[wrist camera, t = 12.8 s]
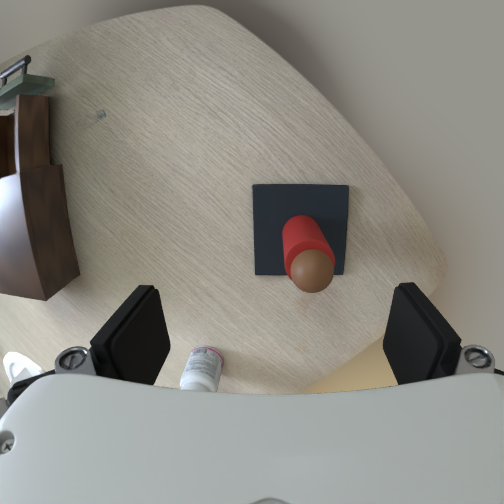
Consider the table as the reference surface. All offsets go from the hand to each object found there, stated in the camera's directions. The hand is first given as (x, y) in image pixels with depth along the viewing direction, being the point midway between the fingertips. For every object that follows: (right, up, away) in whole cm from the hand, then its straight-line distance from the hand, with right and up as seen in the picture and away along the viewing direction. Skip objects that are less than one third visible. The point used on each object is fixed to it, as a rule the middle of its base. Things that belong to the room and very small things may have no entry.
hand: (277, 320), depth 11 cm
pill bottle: (-7, -12, +27) cm, 31 cm away
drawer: (-32, +20, +16) cm, 42 cm away
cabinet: (-32, +7, +22) cm, 39 cm away
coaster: (+4, +5, +20) cm, 21 cm away
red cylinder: (+4, +5, +19) cm, 20 cm away
